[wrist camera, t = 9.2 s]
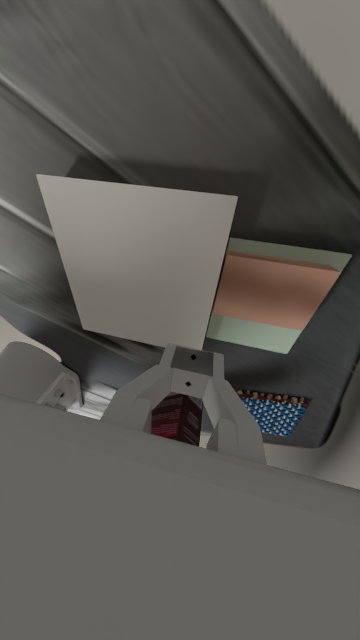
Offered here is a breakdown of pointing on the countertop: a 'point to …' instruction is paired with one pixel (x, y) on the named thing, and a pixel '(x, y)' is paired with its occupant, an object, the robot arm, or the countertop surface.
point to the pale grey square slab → (140, 256)
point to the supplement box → (178, 418)
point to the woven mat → (274, 411)
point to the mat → (260, 332)
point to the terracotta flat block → (272, 289)
